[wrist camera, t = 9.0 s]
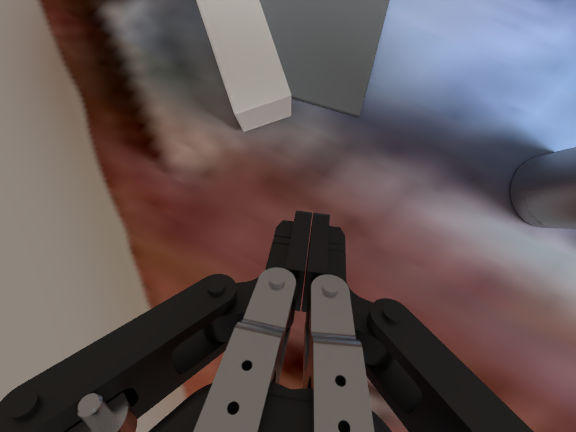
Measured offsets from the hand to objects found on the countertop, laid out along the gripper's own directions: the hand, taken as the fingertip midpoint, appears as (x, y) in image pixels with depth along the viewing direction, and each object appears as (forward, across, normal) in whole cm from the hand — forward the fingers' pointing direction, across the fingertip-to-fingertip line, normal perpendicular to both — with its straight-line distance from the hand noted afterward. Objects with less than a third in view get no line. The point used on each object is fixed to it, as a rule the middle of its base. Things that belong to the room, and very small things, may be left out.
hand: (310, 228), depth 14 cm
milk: (+21, +6, +3) cm, 22 cm away
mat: (+34, +2, -7) cm, 35 cm away
